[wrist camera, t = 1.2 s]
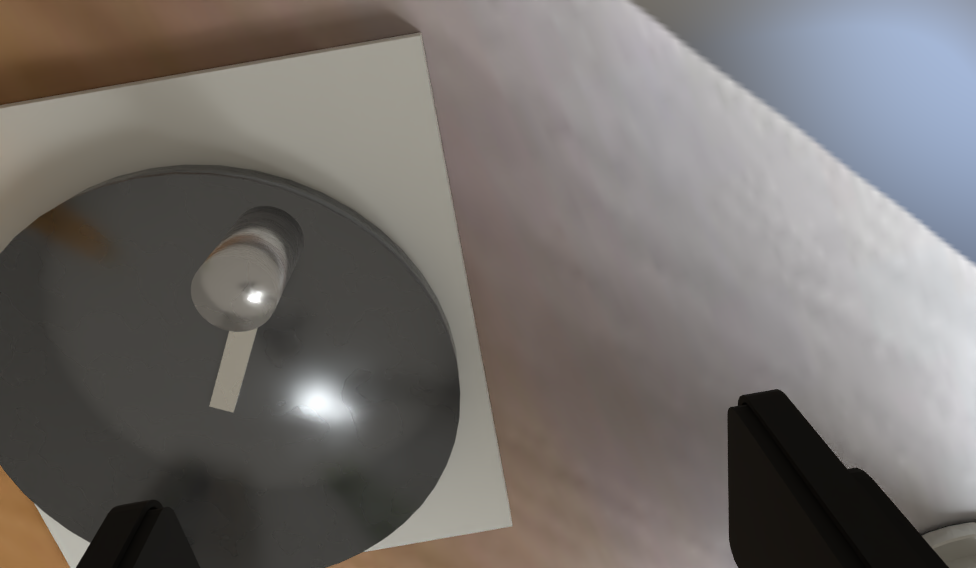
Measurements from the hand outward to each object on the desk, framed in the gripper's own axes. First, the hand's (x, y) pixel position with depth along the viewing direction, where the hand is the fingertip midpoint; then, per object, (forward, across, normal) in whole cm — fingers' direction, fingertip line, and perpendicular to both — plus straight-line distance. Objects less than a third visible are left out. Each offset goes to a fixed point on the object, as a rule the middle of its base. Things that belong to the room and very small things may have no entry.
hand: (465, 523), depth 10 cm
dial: (+18, +11, +7) cm, 23 cm away
